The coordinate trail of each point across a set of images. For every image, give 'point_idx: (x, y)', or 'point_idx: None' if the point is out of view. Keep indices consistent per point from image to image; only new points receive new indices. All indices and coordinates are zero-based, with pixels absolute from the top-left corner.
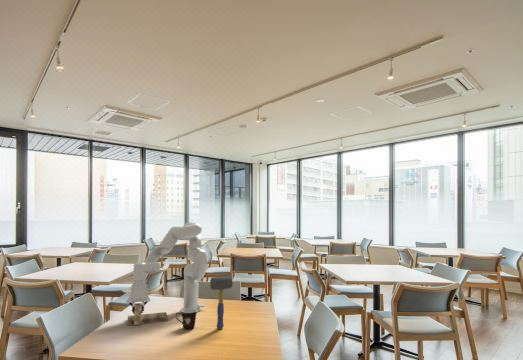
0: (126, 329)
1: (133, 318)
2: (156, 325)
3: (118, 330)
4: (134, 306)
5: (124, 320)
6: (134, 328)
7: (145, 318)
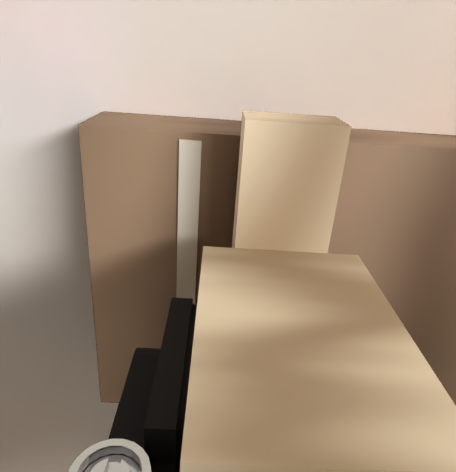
0: None
1: None
2: None
3: (23, 466)
4: (179, 460)
5: (47, 118)
6: None
7: None
